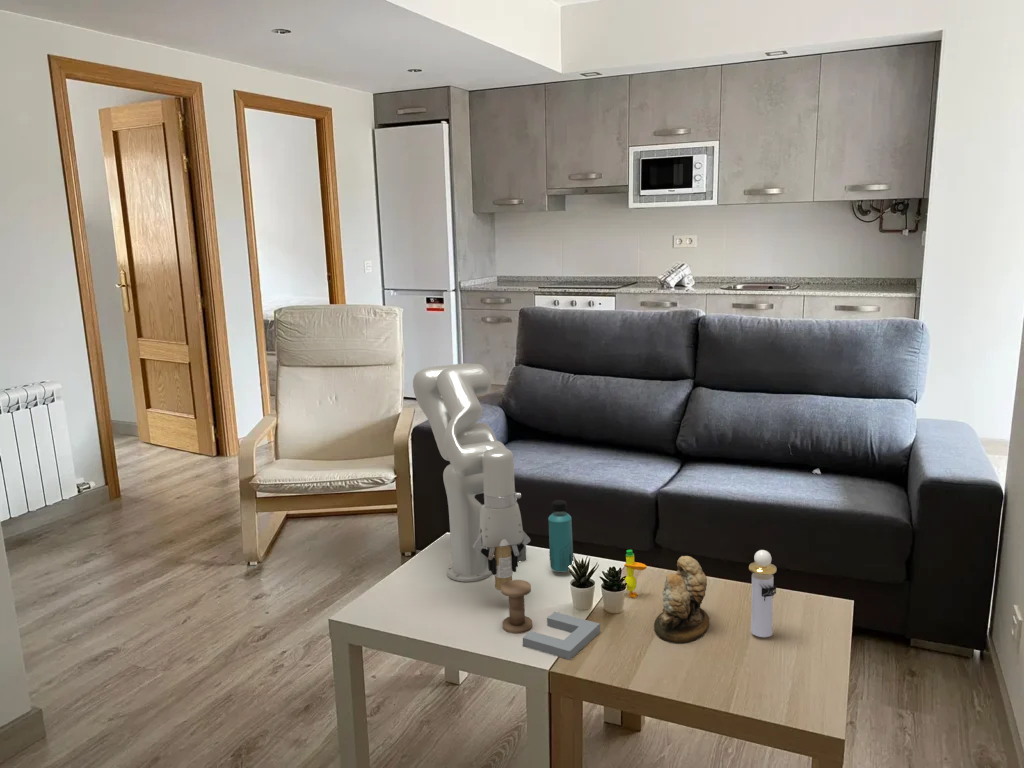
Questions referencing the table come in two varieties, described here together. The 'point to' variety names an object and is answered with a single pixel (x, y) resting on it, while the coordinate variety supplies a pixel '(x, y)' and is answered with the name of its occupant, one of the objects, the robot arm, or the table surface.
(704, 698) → the table surface
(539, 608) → the table surface
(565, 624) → the notched board
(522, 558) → the dice cube
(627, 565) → the toy figure
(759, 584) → the perfume bottle
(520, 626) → the spool
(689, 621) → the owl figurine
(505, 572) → the sprinkles bottle
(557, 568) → the beverage bottle
